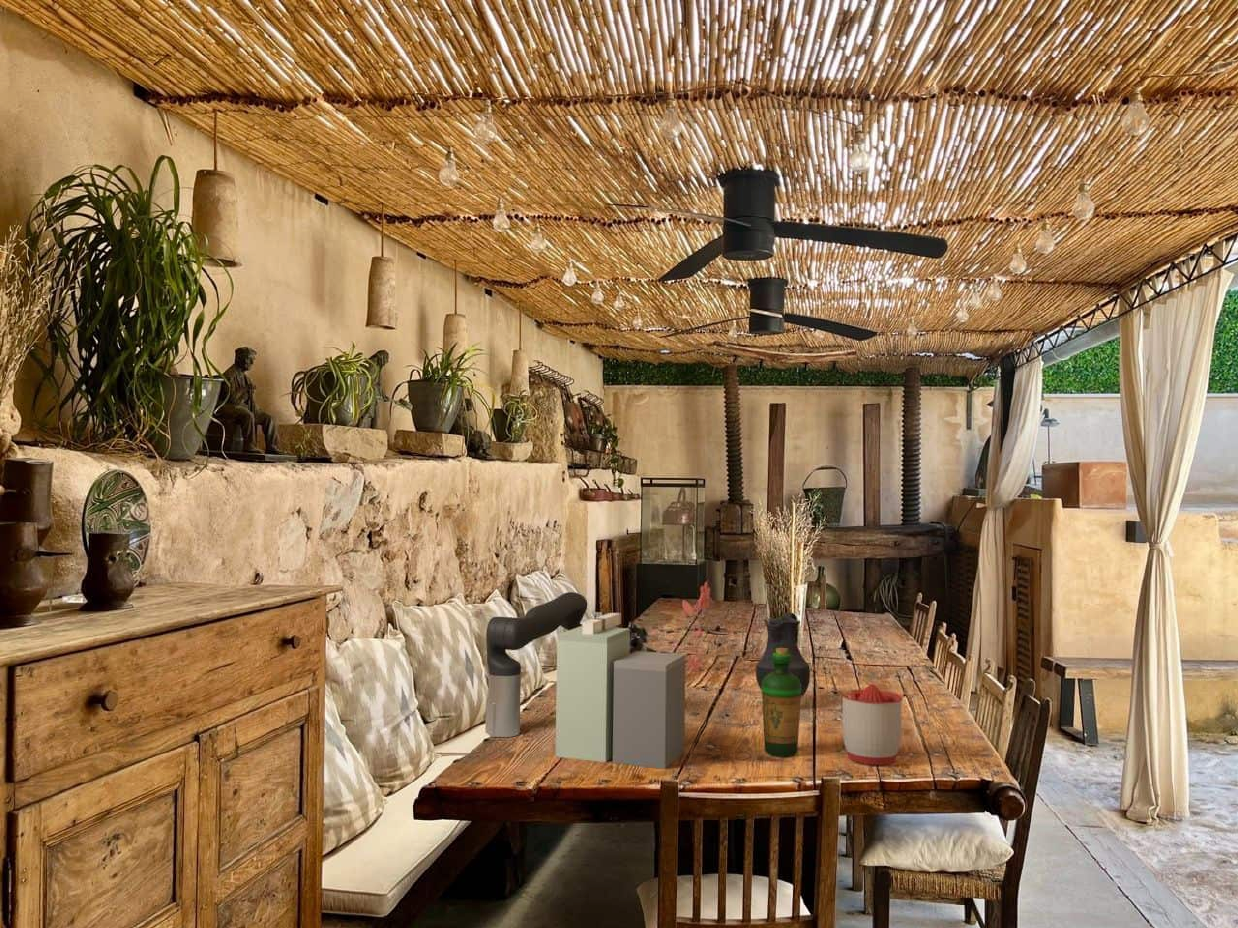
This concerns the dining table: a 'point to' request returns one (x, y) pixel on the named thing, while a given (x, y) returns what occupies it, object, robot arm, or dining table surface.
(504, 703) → the robot arm
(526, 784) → the dining table surface
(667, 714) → the block
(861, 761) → the citrus juicer
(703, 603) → the pink translucent sprig
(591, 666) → the sage green tall pillar
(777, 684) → the bottle
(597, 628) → the pale wooden bar
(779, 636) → the pitcher
